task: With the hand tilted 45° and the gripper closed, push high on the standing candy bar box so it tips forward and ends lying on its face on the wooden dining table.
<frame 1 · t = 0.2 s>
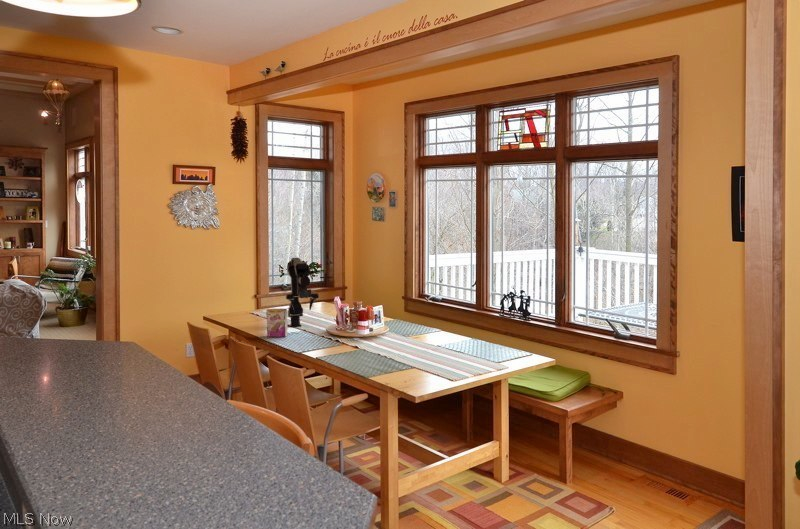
hand: (302, 310, 381), 15 cm above the table, tool pointing down, fingers open, 9 cm apart
candy bar box: (277, 336, 379), on the table
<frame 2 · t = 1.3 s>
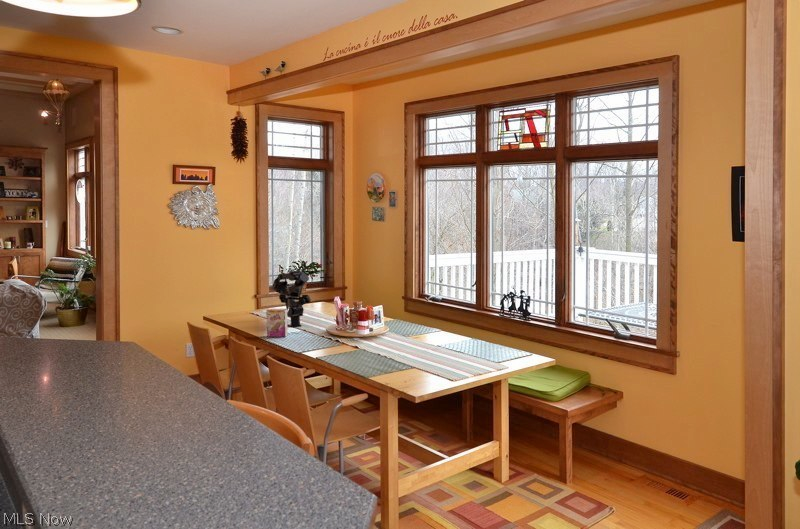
hand: (291, 310, 389), 14 cm above the table, tool tilted 45°, fingers open, 6 cm apart
nothing on the table moved.
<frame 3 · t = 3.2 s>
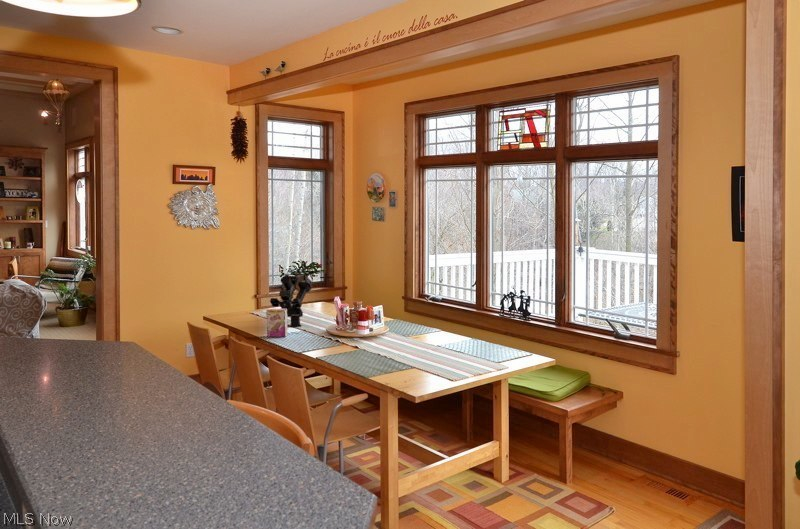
hand: (282, 314, 387), 12 cm above the table, tool tilted 45°, fingers closed
nothing on the table moved.
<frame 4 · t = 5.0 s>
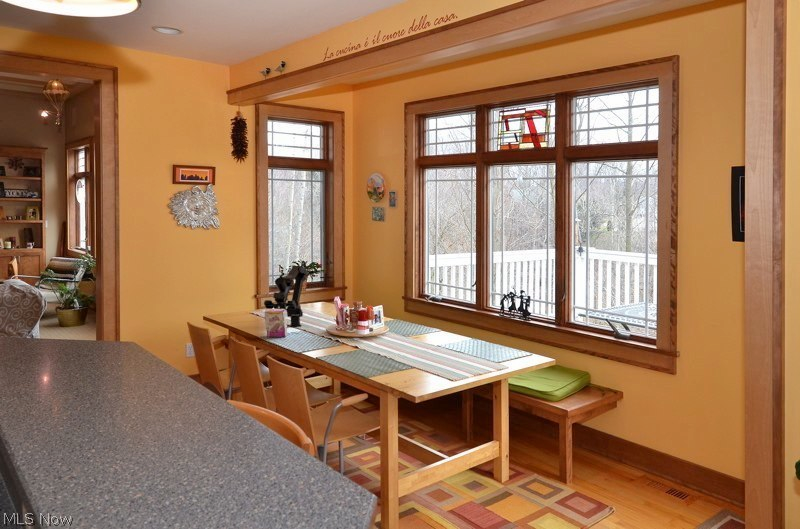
hand: (276, 316, 378), 12 cm above the table, tool tilted 45°, fingers closed
candy bar box: (277, 336, 379), on the table, touching gripper
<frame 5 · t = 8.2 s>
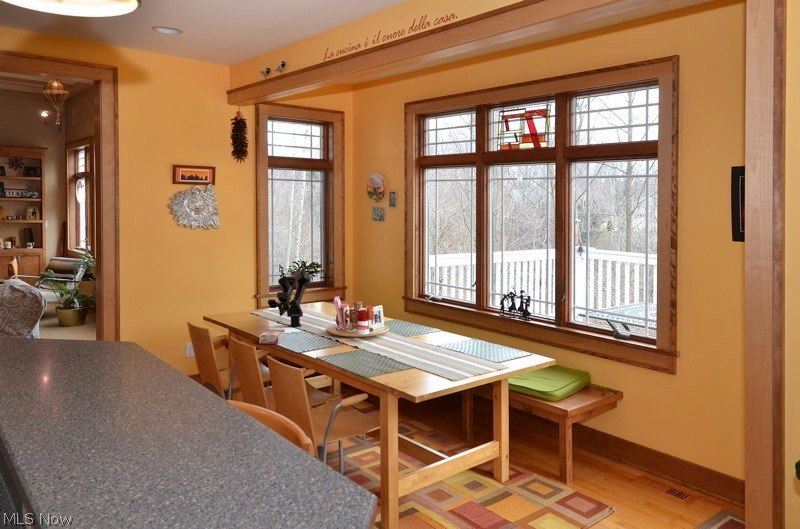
hand: (280, 315, 383), 11 cm above the table, tool tilted 45°, fingers closed
candy bar box: (276, 333, 376), point 2 cm above the table
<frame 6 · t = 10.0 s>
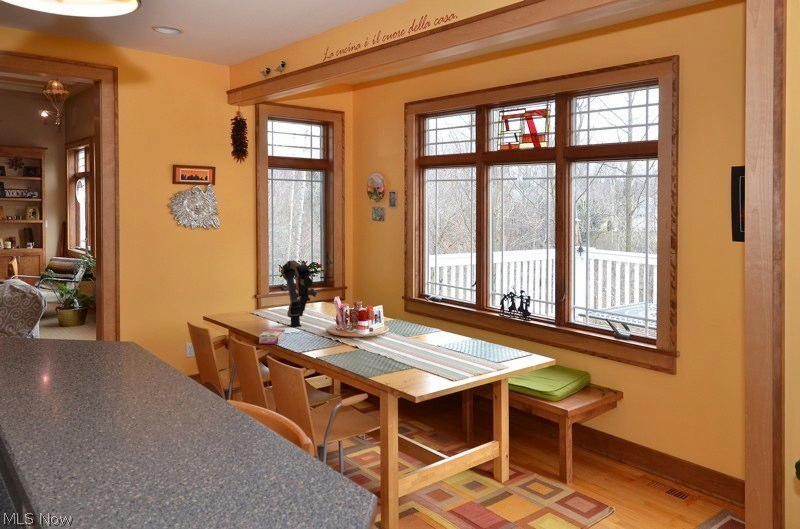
hand: (303, 310, 393), 12 cm above the table, tool pointing down, fingers closed
nothing on the table moved.
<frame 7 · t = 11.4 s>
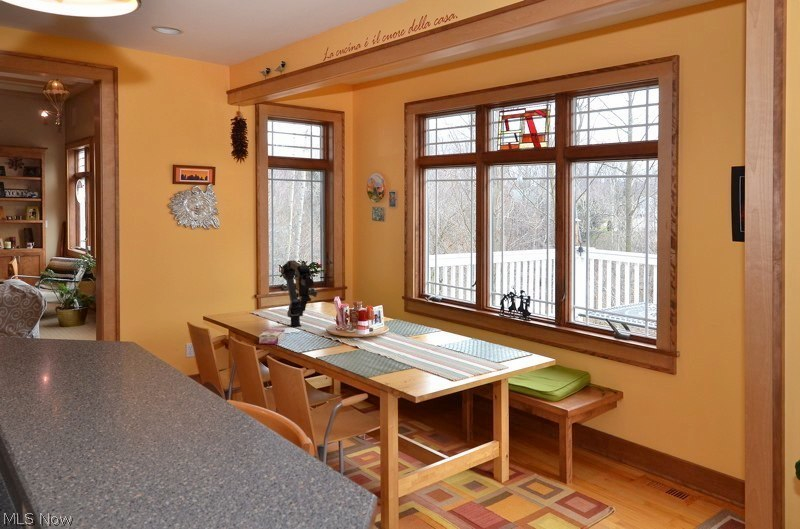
hand: (303, 310, 394), 12 cm above the table, tool pointing down, fingers closed
nothing on the table moved.
at the end: candy bar box tilted 89°; candy bar box inside the target area (4.5 cm from its centre), point 2.4 cm above the table; the gripper is holding nothing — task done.
